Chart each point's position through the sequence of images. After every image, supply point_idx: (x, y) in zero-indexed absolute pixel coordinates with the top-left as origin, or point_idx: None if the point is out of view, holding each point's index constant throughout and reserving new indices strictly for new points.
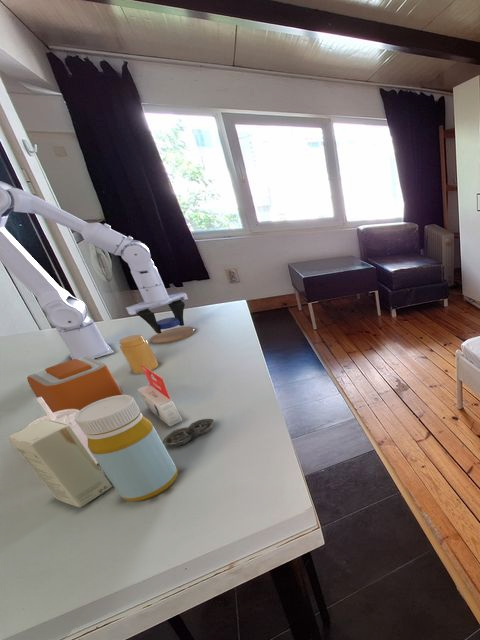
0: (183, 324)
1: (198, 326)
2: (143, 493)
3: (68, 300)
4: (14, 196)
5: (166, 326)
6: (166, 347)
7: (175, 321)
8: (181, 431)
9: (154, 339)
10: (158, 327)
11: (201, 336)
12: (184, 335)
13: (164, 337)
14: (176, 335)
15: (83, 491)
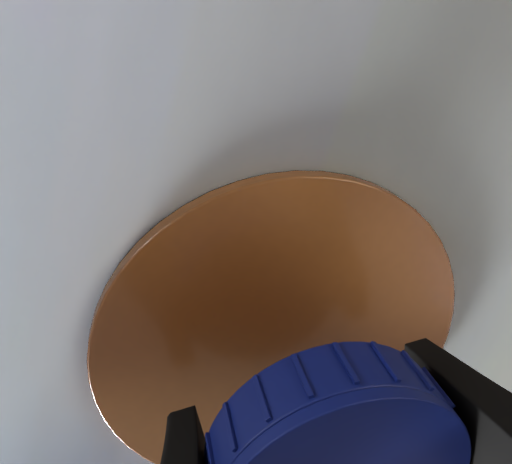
0: (173, 421)
1: (32, 425)
2: None
3: None
4: None
5: (393, 366)
6: (457, 46)
7: (281, 424)
8: None
9: (423, 337)
10: (463, 385)
11: (60, 40)
12: (224, 222)
13: (362, 323)
14: (279, 289)
15: None
